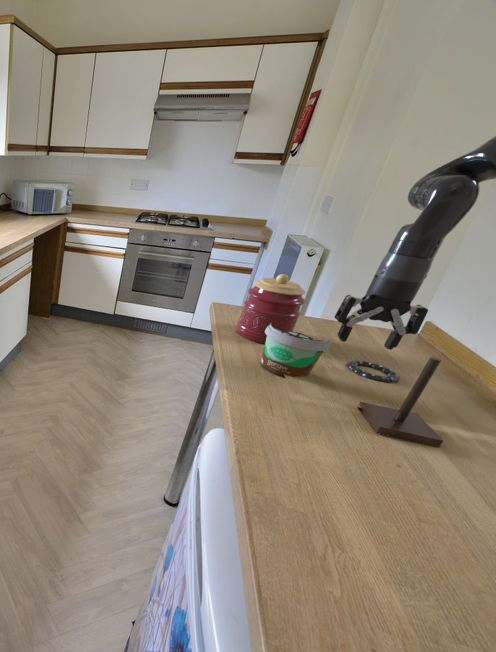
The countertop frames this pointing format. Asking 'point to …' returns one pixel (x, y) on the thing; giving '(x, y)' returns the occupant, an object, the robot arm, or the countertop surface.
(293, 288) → the kitchen canister
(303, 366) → the food container
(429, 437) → the brown peg stand
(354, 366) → the dark grey ring
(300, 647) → the countertop surface
